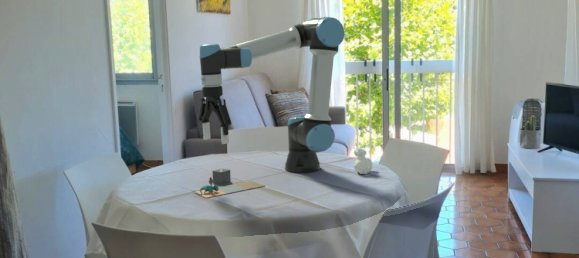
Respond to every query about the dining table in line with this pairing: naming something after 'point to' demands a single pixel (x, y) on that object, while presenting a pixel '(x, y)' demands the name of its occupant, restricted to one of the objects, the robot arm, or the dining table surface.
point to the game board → (230, 189)
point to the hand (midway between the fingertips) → (216, 141)
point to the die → (221, 176)
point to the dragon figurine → (209, 187)
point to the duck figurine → (362, 162)
